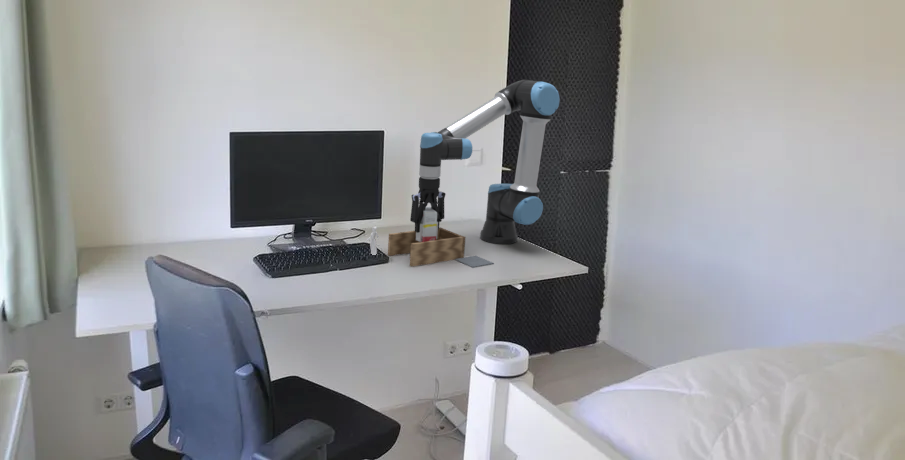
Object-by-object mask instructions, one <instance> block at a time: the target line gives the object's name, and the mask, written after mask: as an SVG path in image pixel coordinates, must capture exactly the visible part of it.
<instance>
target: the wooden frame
mask: <svg viewBox="0 0 905 460" xmlns="http://www.w3.org/2000/svg"><path fill="white" fill-rule="evenodd" d="M387 241H388V244H387V245H388V246H387V256H389V257H391V256H398V255H404V254H409V266H410V267H416V266H422V265H429V264H436V263H442V262H448V261H453V260H454V261H456V260H455V259H458V258H464V257H465V247H466V236H463V235H461V234H458V233H456V232H453V231H450V230H449V229H446V228H443V227H441V226H439V229H438V234H437V239H436V240H433V241H426V242H419V241H417V240H416V232H415V230H410V231H409V230H407V231H402V232H393V233H388V239H387Z"/></svg>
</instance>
